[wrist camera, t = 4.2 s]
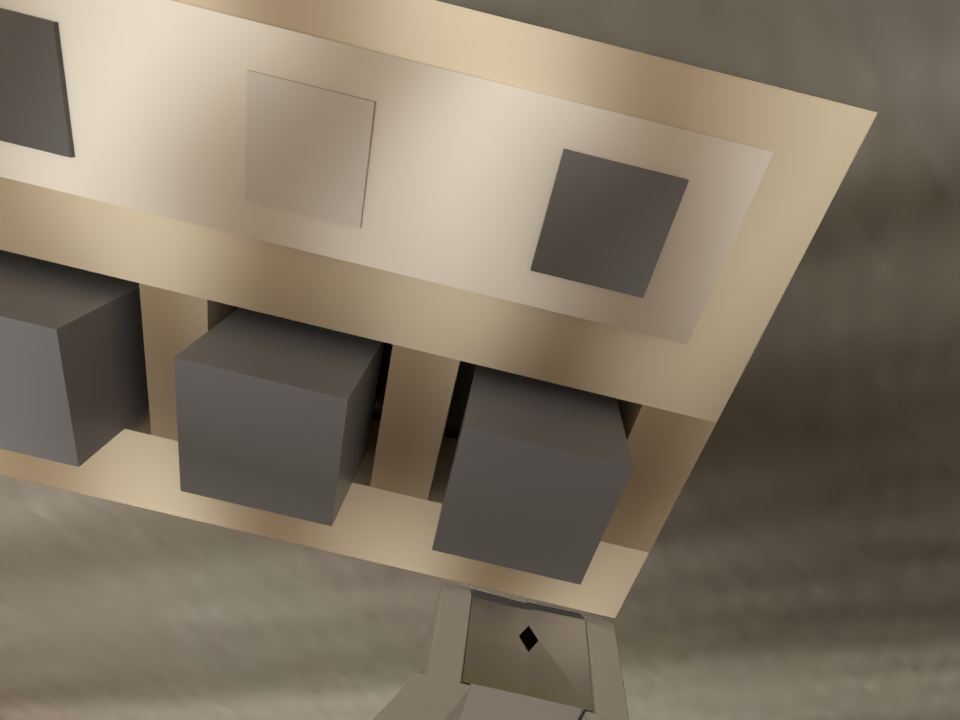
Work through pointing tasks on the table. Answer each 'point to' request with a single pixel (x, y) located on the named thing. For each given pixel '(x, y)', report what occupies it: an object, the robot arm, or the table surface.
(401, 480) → the button board
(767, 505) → the table surface
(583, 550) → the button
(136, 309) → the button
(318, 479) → the middle button
